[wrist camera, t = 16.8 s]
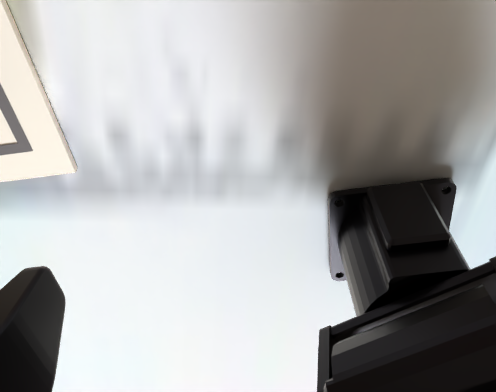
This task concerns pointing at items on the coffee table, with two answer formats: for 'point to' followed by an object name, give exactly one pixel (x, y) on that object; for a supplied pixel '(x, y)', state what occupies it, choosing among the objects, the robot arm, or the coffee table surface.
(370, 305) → the robot arm
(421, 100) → the coffee table surface
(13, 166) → the card
